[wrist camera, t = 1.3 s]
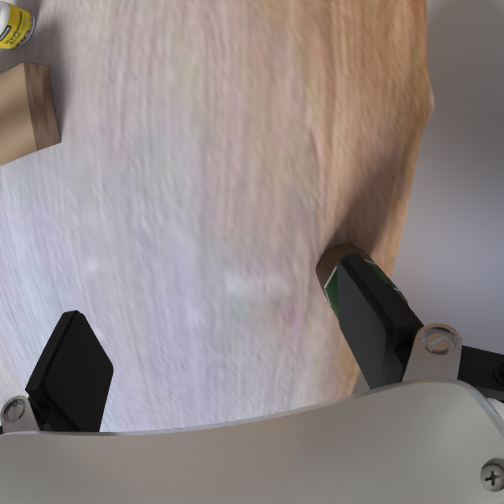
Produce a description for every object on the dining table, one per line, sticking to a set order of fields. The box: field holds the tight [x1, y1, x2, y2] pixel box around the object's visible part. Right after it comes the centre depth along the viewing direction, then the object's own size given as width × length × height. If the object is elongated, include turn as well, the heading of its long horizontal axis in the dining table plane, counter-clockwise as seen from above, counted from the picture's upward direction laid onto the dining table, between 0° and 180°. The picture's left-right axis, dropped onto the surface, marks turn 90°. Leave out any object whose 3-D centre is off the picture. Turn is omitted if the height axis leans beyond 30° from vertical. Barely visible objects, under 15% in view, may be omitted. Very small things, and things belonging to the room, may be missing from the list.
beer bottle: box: [316, 244, 408, 320], centre depth 32 cm, size 8×8×24 cm
